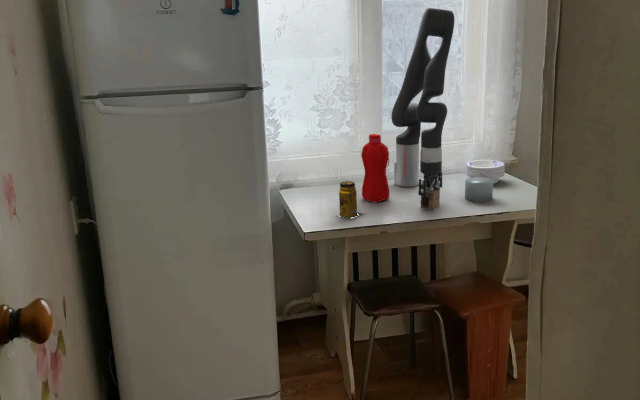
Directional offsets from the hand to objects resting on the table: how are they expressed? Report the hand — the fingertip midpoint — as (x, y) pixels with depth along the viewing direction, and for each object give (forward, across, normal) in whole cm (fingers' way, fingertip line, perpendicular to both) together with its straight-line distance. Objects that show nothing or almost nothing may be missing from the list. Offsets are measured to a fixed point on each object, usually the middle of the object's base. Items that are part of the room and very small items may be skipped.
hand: (430, 203), depth 217 cm
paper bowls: (+2, -42, +4) cm, 42 cm away
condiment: (+2, +22, -20) cm, 30 cm away
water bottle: (+2, 0, -22) cm, 22 cm away
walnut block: (+2, 0, 0) cm, 2 cm away
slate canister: (+2, -18, +11) cm, 21 cm away
